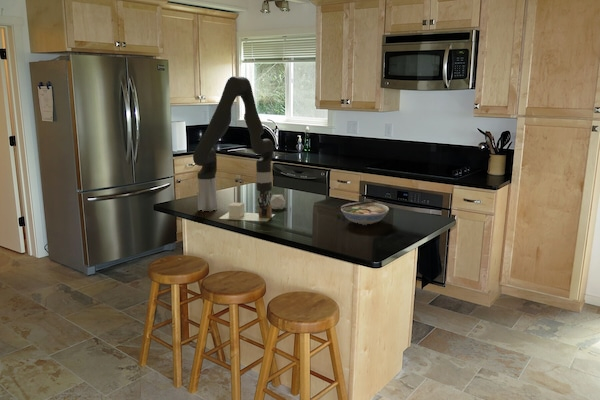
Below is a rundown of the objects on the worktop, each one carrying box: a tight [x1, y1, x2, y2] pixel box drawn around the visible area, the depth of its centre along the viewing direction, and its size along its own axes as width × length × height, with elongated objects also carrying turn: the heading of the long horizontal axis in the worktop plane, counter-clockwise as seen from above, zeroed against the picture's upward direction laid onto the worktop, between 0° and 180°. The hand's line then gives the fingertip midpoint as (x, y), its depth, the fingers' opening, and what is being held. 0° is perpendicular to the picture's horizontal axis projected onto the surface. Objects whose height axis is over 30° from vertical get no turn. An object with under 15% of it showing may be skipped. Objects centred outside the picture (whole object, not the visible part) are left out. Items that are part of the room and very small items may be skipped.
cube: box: [228, 201, 246, 218], centre depth 259 cm, size 6×6×6 cm
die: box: [270, 194, 286, 210], centre depth 272 cm, size 8×9×10 cm
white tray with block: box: [218, 204, 276, 223], centre depth 257 cm, size 25×13×7 cm, turn 75°
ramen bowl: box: [334, 199, 390, 226], centre depth 245 cm, size 25×23×8 cm
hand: (265, 214), depth 255 cm, fingers closed on white tray with block, 2 cm apart
